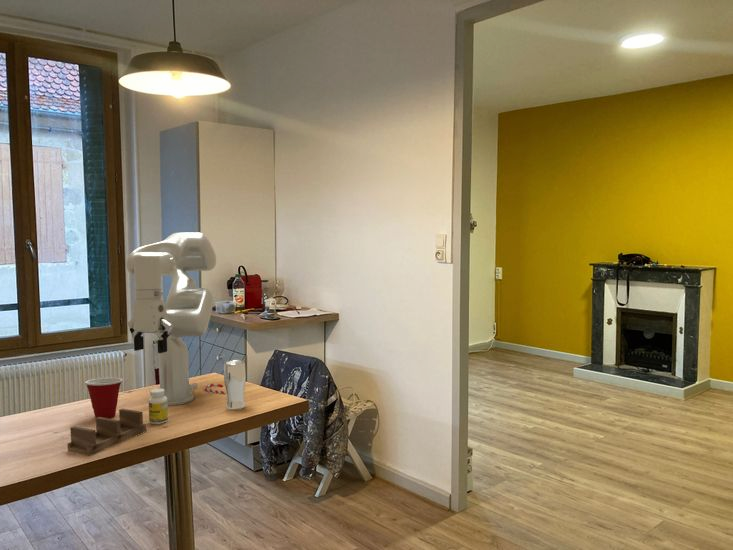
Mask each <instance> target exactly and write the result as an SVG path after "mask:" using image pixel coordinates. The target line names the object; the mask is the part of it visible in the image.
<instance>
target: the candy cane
mask: <svg viewBox="0 0 733 550" xmlns="http://www.w3.org/2000/svg"><path fill="white" fill-rule="evenodd" d="M212 386H213V387H219V388H223V387H224V385H223V384H221V383H210V384H206V385H204V387H203V391H205V392H207V393H211V392H212V393H213V394H217V393H219V394H218V395H226V394H227V392H226V390H225V391H224V390H216V389H211V387H212ZM208 387H209V388H208ZM213 387H212V388H213Z"/></svg>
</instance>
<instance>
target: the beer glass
mask: <svg viewBox="0 0 733 550" xmlns="http://www.w3.org/2000/svg"><path fill="white" fill-rule="evenodd" d="M246 376H247V375H246V365H245V361H244V360H240V359H232V360H227V361H224V362H223V380H224V386H225V392H227V395H226V396H227V397H226V405H225V407H226V409H227V410H229V411H238V410H242V409H245V408H246V402H245V396H244V395H245V387H246Z"/></svg>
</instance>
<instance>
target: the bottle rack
mask: <svg viewBox="0 0 733 550" xmlns="http://www.w3.org/2000/svg"><path fill="white" fill-rule="evenodd" d="M143 413H144V412H143V411H140V410H135V409H134V410H132V409H127V408H120V409H118V414H119V415H118V416H119V418H118V419H113V418H110V419H108V418H103V417H98V418H95V428H96V429H90V428H86V427H81V426H75V425H73V426H70V429H69V430H70V442H67V443H66V444H67V446H66V447H67V453H73V454H77V453H78V455H82V456H87V455H88V456H87V457H90V456H93V455H94V454H97V453H100V452H102V451H104V450H107V449H108V448H111V447H113V446H117V445H118V444H121V443H123V442H126V441H128V440H129V438H130V439H132V438H135V437H136V435H137V436H139V435H142V434H144V433H146V432H147V423H144V418H143V417H144V416H143V415H144V414H143ZM143 432H144V433H143ZM141 433H142V434H141ZM138 434H139V435H138ZM134 436H135V437H134ZM131 437H132V438H131ZM127 439H128V440H127ZM122 441H123V442H122ZM106 448H107V449H106Z"/></svg>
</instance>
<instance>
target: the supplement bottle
mask: <svg viewBox="0 0 733 550" xmlns="http://www.w3.org/2000/svg"><path fill="white" fill-rule="evenodd" d="M164 394H165V392H164V389H160V388H155V389H152V390H150V398H149V399H148V414H149V415H148V418H149V423H150V424H153V425H162V424H165V423H167V422H168V421H169V410H168V408H169V407H168V406H169V405H167V397H166V396H164ZM164 422H165V423H164ZM161 423H162V424H161Z"/></svg>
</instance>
